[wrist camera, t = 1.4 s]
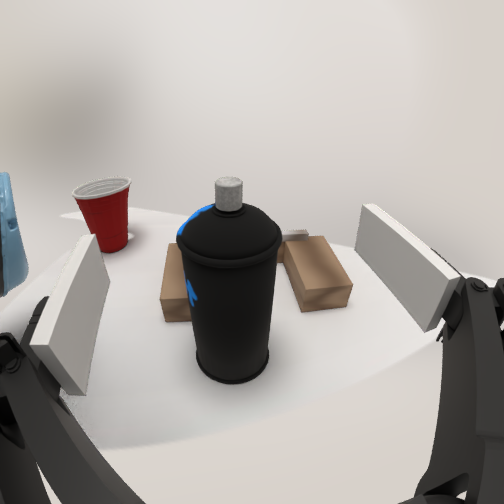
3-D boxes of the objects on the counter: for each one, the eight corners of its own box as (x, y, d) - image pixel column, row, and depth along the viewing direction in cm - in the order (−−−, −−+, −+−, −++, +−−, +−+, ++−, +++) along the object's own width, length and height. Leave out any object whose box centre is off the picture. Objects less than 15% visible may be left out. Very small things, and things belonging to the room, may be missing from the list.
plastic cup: (149, 229, 53) (140, 170, 47) (129, 262, 44) (114, 195, 38) (102, 228, 53) (90, 174, 47) (77, 259, 45) (59, 198, 38)
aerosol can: (277, 336, 33) (296, 171, 22) (256, 394, 27) (270, 215, 16) (213, 319, 35) (202, 160, 24) (184, 370, 29) (146, 196, 18)
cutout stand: (165, 321, 35) (158, 291, 32) (172, 264, 44) (167, 236, 42) (345, 306, 38) (355, 277, 35) (319, 255, 48) (324, 229, 45)
